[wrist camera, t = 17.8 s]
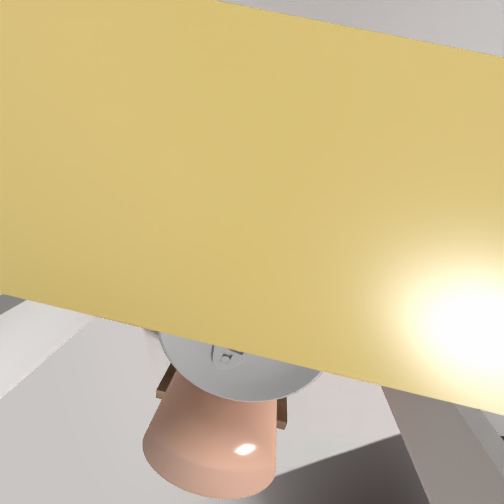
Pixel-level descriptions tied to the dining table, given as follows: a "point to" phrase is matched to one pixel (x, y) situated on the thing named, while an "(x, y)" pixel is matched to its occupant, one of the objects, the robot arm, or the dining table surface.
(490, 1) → the dining table surface
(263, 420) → the peach rounded capsule
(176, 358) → the canned food
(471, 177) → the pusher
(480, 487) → the robot arm
